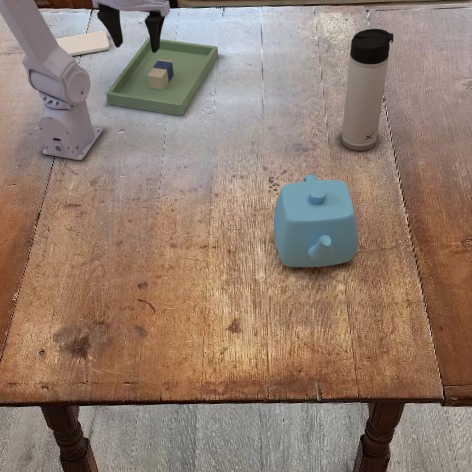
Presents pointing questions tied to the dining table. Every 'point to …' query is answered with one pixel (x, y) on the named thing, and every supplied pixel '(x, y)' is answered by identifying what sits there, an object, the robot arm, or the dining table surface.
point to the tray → (180, 86)
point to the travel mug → (365, 88)
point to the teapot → (315, 223)
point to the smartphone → (84, 43)
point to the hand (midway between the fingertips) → (137, 47)
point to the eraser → (161, 74)
